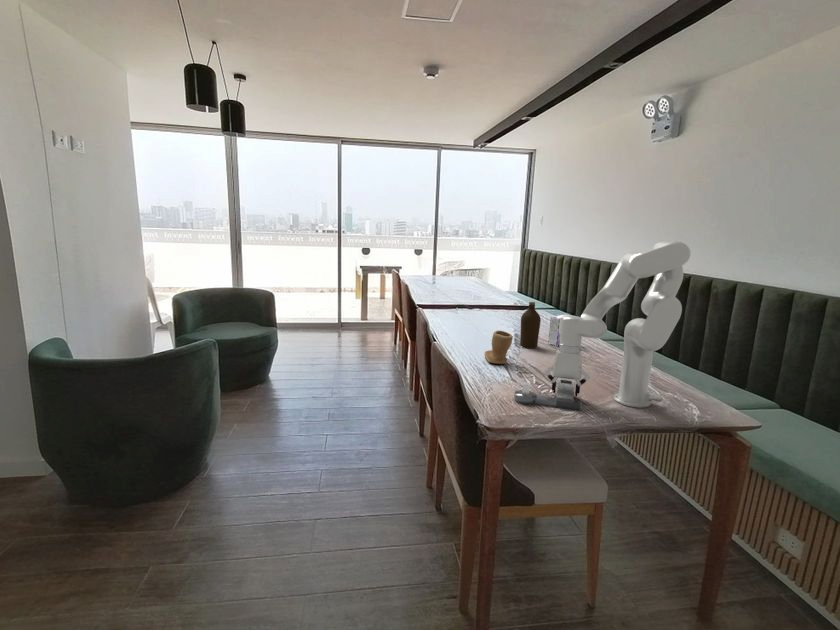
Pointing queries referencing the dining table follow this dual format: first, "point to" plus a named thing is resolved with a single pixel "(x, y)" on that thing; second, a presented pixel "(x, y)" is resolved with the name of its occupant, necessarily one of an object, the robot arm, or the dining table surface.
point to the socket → (565, 388)
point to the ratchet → (544, 399)
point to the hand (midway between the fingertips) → (565, 393)
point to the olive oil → (530, 327)
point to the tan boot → (499, 347)
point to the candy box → (555, 329)
